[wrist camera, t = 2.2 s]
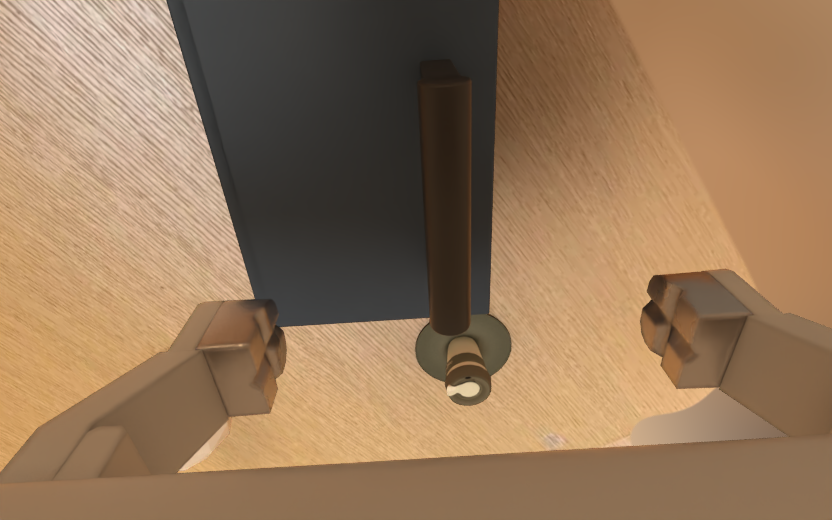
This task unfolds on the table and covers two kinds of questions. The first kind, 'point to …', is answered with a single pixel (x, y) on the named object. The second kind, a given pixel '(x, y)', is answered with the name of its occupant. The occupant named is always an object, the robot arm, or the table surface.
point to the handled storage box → (353, 150)
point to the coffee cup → (465, 358)
